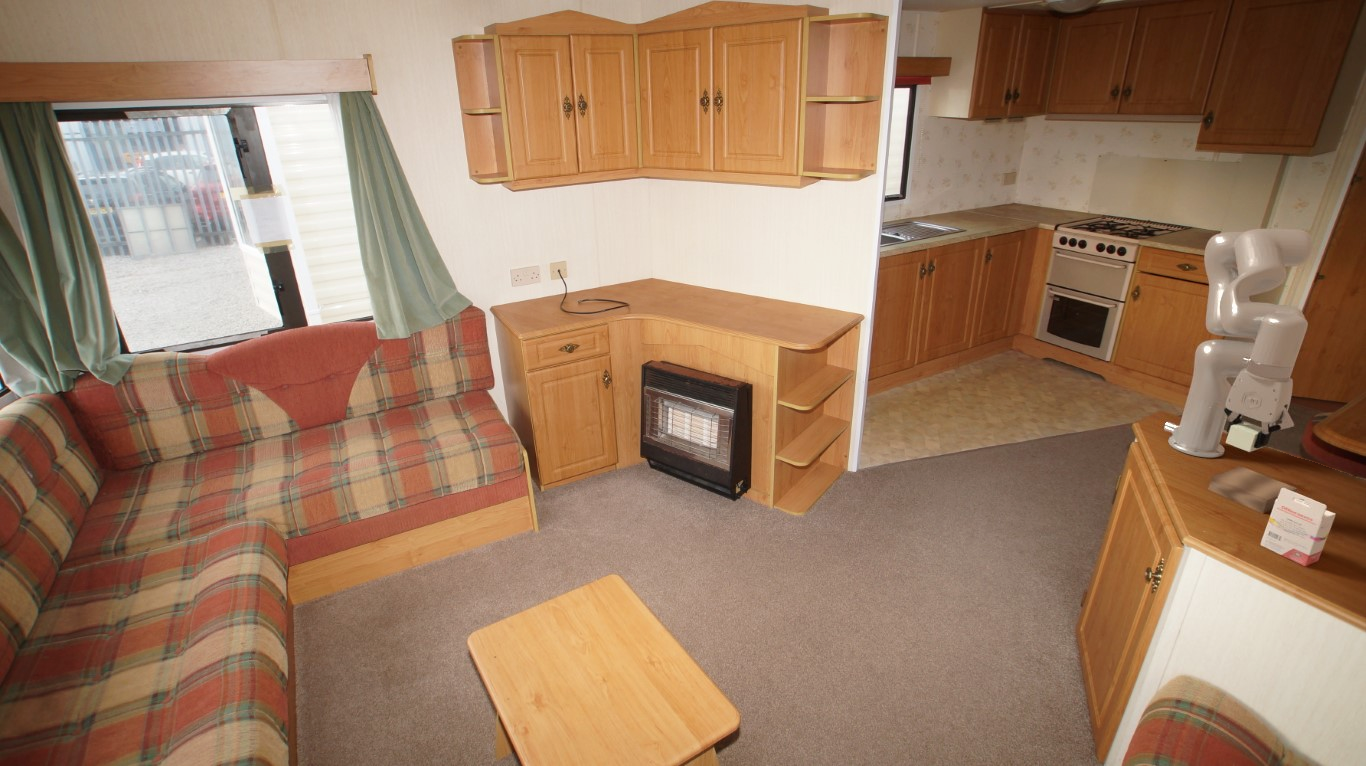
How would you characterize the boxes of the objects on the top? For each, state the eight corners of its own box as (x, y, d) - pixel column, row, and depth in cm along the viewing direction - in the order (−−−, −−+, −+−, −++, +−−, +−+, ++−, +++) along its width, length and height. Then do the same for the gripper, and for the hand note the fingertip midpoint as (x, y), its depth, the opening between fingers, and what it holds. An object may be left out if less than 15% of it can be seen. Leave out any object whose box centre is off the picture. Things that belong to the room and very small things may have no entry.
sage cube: (1225, 442, 155) (1230, 425, 153) (1238, 438, 157) (1244, 421, 155) (1249, 452, 151) (1255, 434, 149) (1262, 447, 152) (1268, 429, 151)
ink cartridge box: (1319, 561, 139) (1343, 501, 133) (1304, 567, 137) (1328, 507, 132) (1272, 539, 146) (1293, 481, 141) (1258, 544, 145) (1279, 486, 139)
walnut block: (1207, 490, 166) (1211, 476, 164) (1236, 479, 170) (1241, 466, 169) (1262, 514, 156) (1267, 500, 154) (1292, 502, 160) (1297, 488, 158)
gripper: (1217, 359, 152) (1196, 430, 159) (1304, 385, 138) (1277, 461, 145) (1237, 354, 155) (1216, 423, 162) (1326, 379, 140) (1298, 454, 147)
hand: (1245, 440), depth 153 cm, fingers closed on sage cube, 4 cm apart
